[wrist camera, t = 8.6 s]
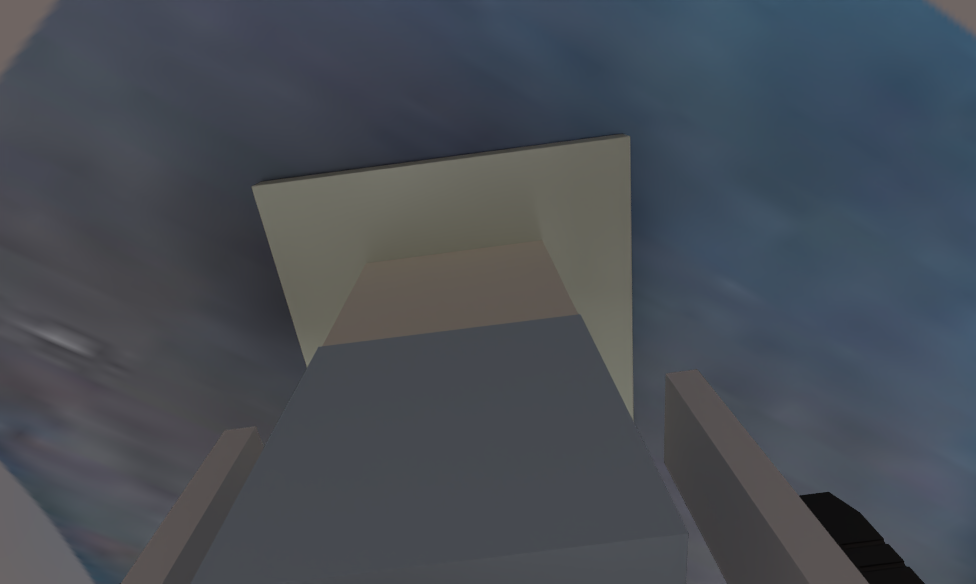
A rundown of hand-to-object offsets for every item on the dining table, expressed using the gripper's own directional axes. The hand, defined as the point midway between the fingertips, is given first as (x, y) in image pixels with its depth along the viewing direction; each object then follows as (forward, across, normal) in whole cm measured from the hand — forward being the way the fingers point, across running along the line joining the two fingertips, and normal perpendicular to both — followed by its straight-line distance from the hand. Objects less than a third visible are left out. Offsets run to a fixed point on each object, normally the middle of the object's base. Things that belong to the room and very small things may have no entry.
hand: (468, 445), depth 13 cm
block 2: (0, 0, 0) cm, 0 cm away
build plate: (+7, 0, 0) cm, 7 cm away
